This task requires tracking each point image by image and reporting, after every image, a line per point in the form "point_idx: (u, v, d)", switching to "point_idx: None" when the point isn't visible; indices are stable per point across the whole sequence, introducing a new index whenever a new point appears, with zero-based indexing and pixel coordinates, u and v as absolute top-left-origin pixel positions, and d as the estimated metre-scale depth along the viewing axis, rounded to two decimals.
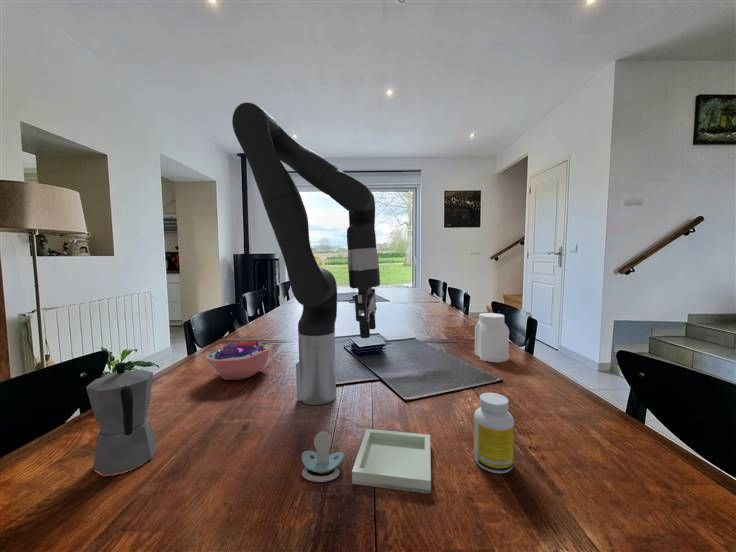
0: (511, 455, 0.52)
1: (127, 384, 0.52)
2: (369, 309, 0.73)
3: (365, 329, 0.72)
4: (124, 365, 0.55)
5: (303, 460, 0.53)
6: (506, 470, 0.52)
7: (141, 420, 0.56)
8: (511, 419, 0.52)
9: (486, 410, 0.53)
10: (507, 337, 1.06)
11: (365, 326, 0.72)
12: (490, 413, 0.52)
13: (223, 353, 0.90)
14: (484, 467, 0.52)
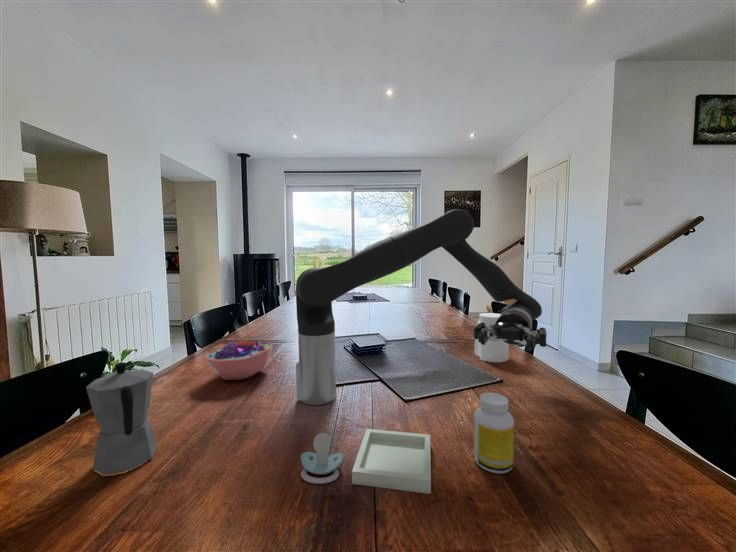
0: (511, 455, 0.52)
1: (127, 384, 0.52)
2: None
3: (535, 345, 0.62)
4: (124, 365, 0.55)
5: (302, 461, 0.53)
6: (506, 470, 0.52)
7: (141, 420, 0.56)
8: (511, 419, 0.52)
9: (486, 410, 0.53)
10: None
11: (535, 344, 0.62)
12: (490, 413, 0.52)
13: (223, 353, 0.90)
14: (484, 467, 0.52)
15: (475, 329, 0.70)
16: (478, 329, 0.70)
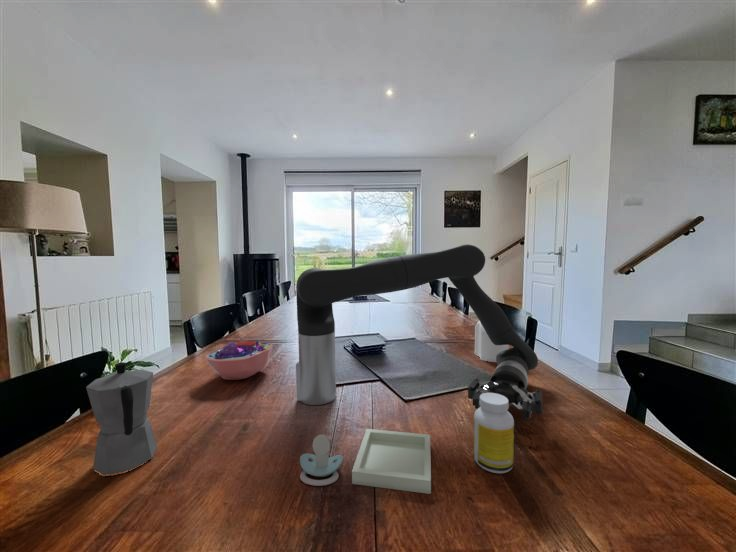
0: (511, 455, 0.52)
1: (127, 384, 0.52)
2: None
3: None
4: (124, 365, 0.55)
5: (301, 463, 0.52)
6: (506, 470, 0.52)
7: (141, 420, 0.56)
8: (511, 419, 0.52)
9: (486, 410, 0.53)
10: None
11: (530, 412, 0.60)
12: (490, 413, 0.52)
13: (223, 353, 0.90)
14: (484, 467, 0.52)
15: (469, 388, 0.68)
16: (472, 389, 0.67)
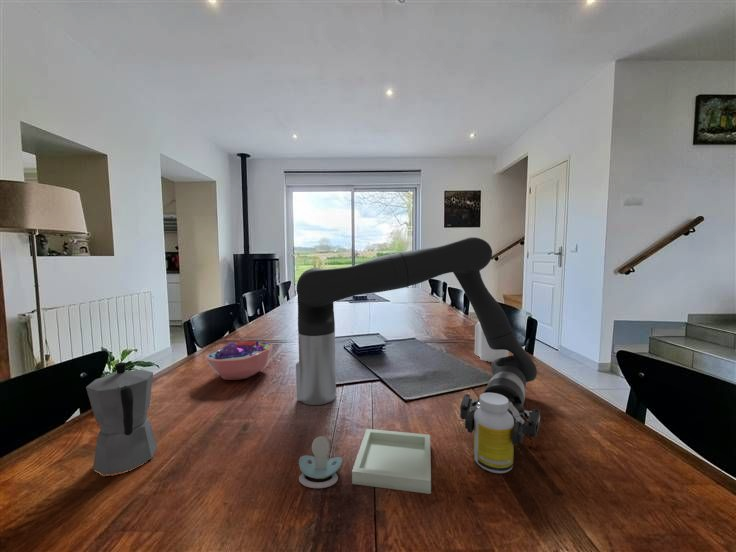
0: (511, 455, 0.52)
1: (127, 384, 0.52)
2: None
3: (522, 437, 0.52)
4: (124, 365, 0.55)
5: (300, 465, 0.52)
6: (506, 470, 0.52)
7: (141, 420, 0.56)
8: (511, 419, 0.52)
9: (486, 410, 0.53)
10: None
11: (522, 435, 0.52)
12: (490, 413, 0.52)
13: (223, 353, 0.90)
14: (484, 467, 0.52)
15: (462, 407, 0.59)
16: (466, 407, 0.59)
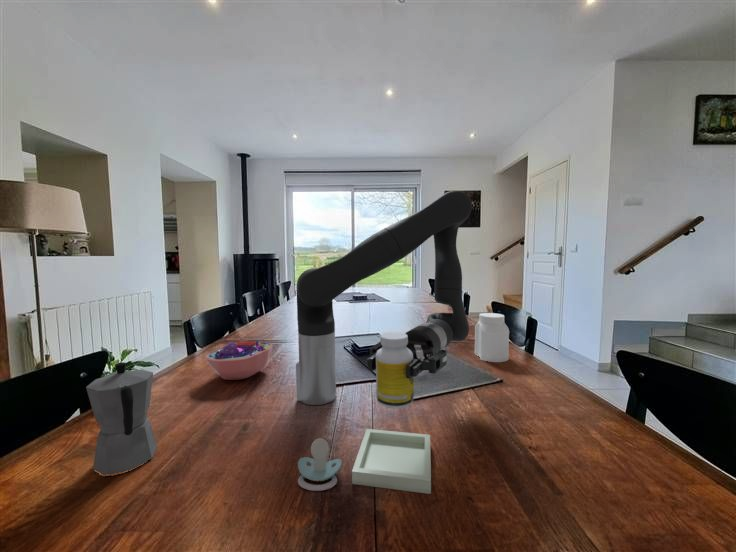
0: (408, 390, 0.51)
1: (127, 384, 0.52)
2: None
3: (419, 371, 0.51)
4: (124, 365, 0.55)
5: (299, 467, 0.51)
6: (402, 405, 0.51)
7: (141, 420, 0.56)
8: (408, 354, 0.52)
9: (384, 346, 0.52)
10: (507, 337, 1.06)
11: (420, 370, 0.52)
12: (387, 349, 0.52)
13: (223, 353, 0.90)
14: (381, 403, 0.52)
15: (371, 350, 0.59)
16: (374, 350, 0.59)
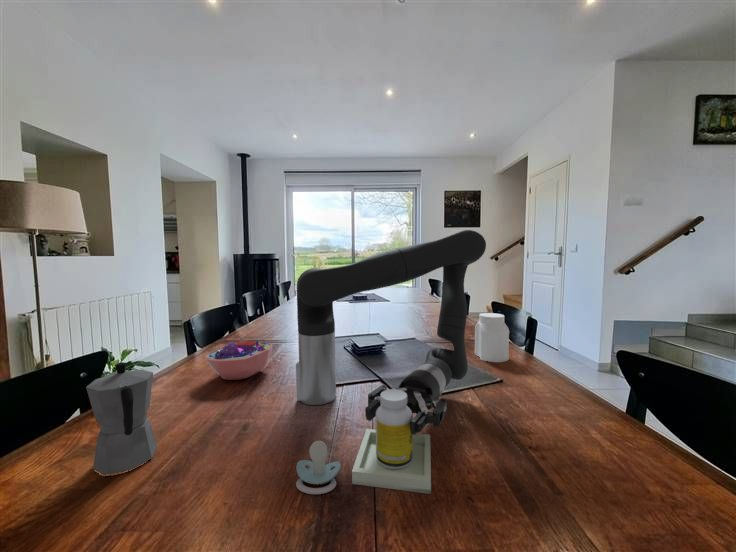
0: (407, 451, 0.52)
1: (127, 384, 0.52)
2: None
3: (423, 426, 0.52)
4: (124, 365, 0.55)
5: (298, 470, 0.51)
6: (401, 466, 0.52)
7: (141, 420, 0.56)
8: (408, 415, 0.53)
9: (384, 406, 0.53)
10: (507, 337, 1.06)
11: (424, 424, 0.53)
12: (387, 409, 0.53)
13: (223, 353, 0.90)
14: (381, 463, 0.53)
15: (369, 397, 0.60)
16: (372, 397, 0.60)
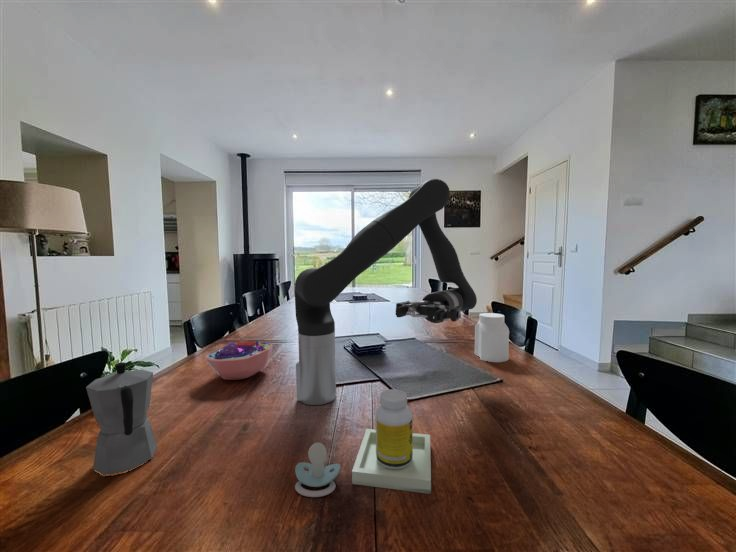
0: (407, 451, 0.52)
1: (127, 384, 0.52)
2: None
3: (443, 318, 0.65)
4: (124, 365, 0.55)
5: (297, 473, 0.50)
6: (401, 466, 0.52)
7: (141, 420, 0.56)
8: (408, 415, 0.53)
9: (384, 406, 0.53)
10: (507, 337, 1.06)
11: (444, 317, 0.66)
12: (387, 410, 0.53)
13: (223, 353, 0.90)
14: (381, 463, 0.53)
15: (397, 304, 0.73)
16: (399, 305, 0.73)
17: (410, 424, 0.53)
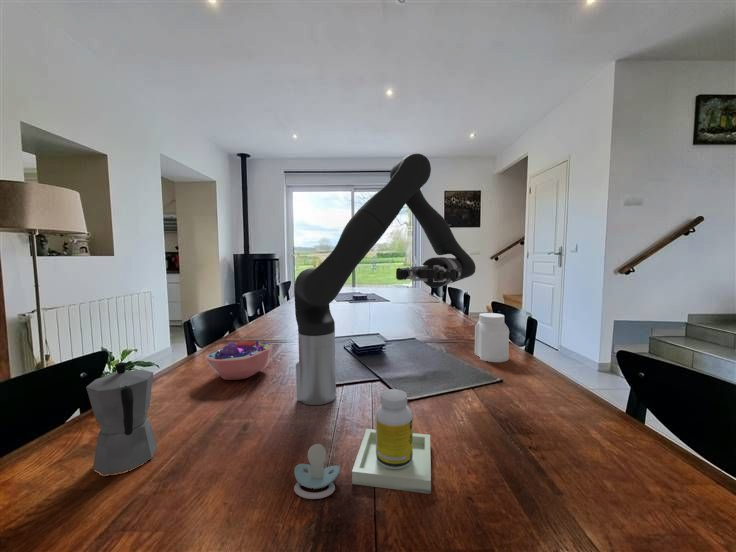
0: (407, 451, 0.52)
1: (127, 384, 0.52)
2: None
3: (443, 277, 0.66)
4: (124, 365, 0.55)
5: (296, 474, 0.50)
6: (401, 466, 0.52)
7: (141, 420, 0.56)
8: (408, 415, 0.53)
9: (384, 406, 0.53)
10: (507, 337, 1.06)
11: (444, 277, 0.67)
12: (387, 410, 0.53)
13: (223, 353, 0.90)
14: (381, 463, 0.53)
15: (397, 269, 0.74)
16: (400, 269, 0.74)
17: (410, 424, 0.53)
